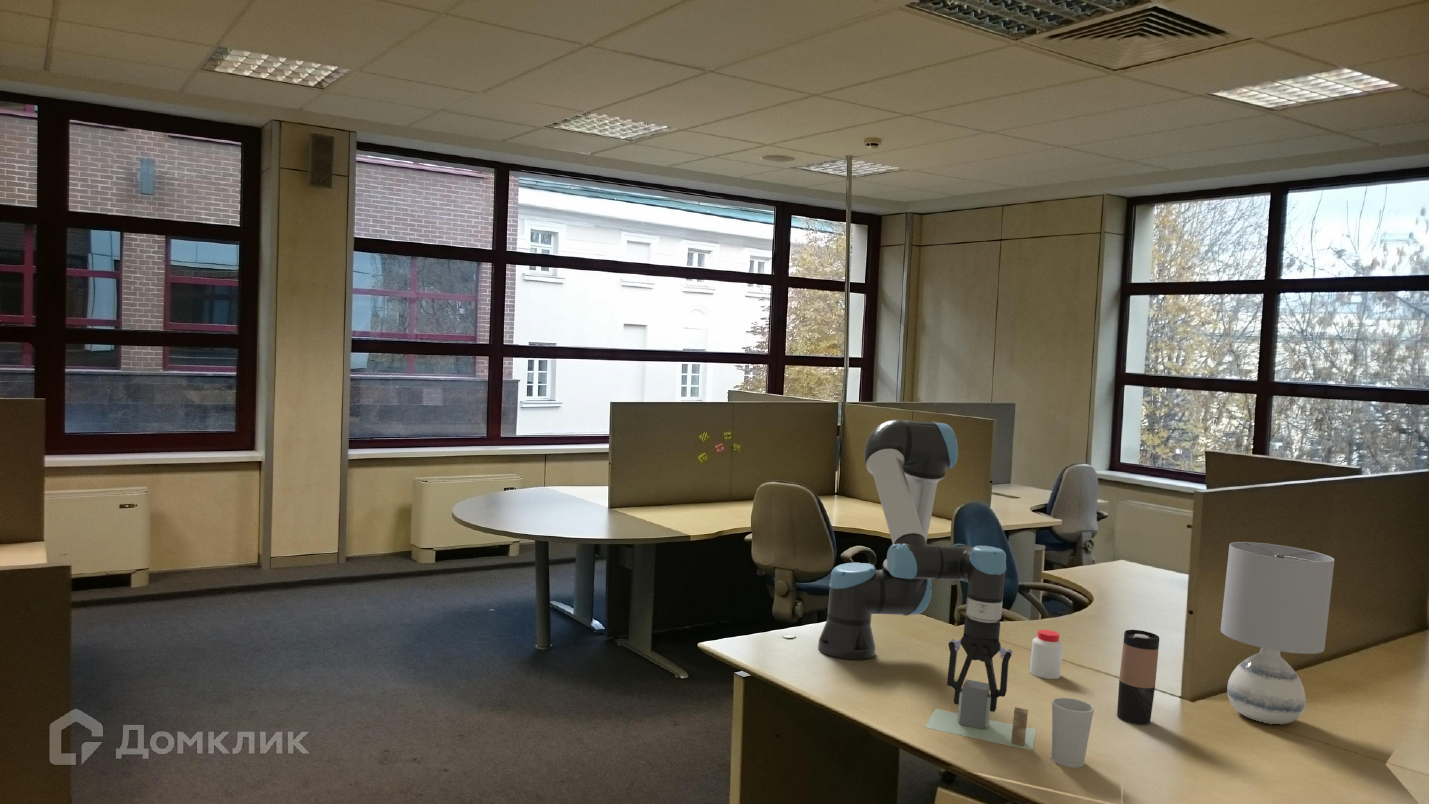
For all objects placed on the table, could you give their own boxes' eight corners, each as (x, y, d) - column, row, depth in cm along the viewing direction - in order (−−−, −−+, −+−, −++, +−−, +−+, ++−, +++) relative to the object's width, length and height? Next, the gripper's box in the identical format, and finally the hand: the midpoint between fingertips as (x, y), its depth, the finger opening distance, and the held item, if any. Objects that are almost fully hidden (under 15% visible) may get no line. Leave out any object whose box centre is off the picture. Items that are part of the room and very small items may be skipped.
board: (925, 729, 210) (925, 727, 210) (935, 710, 223) (935, 708, 222) (1031, 752, 202) (1032, 750, 202) (1036, 731, 214) (1036, 729, 214)
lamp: (1325, 721, 235) (1343, 555, 233) (1303, 743, 219) (1323, 565, 217) (1227, 695, 250) (1243, 538, 247) (1200, 714, 234) (1217, 547, 232)
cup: (1040, 753, 202) (1045, 696, 201) (1077, 755, 203) (1082, 698, 202) (1056, 770, 194) (1062, 711, 193) (1095, 771, 195) (1101, 712, 194)
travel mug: (1149, 716, 229) (1158, 632, 228) (1152, 728, 222) (1161, 641, 221) (1114, 710, 232) (1122, 627, 230) (1116, 721, 224) (1125, 635, 223)
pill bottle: (1056, 670, 259) (1060, 630, 259) (1063, 680, 252) (1067, 638, 251) (1026, 667, 260) (1030, 627, 259) (1033, 677, 252) (1036, 635, 252)
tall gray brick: (959, 724, 213) (963, 685, 213) (962, 717, 218) (966, 679, 218) (983, 729, 211) (987, 690, 211) (986, 722, 216) (990, 683, 216)
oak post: (1011, 743, 205) (1014, 711, 205) (1012, 739, 207) (1015, 707, 207) (1023, 746, 204) (1027, 713, 204) (1025, 742, 206) (1028, 709, 206)
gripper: (938, 614, 214) (928, 718, 215) (1024, 629, 207) (1014, 736, 208) (943, 607, 221) (934, 708, 222) (1027, 621, 214) (1017, 725, 215)
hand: (973, 721), depth 215 cm, fingers closed on tall gray brick, 5 cm apart
